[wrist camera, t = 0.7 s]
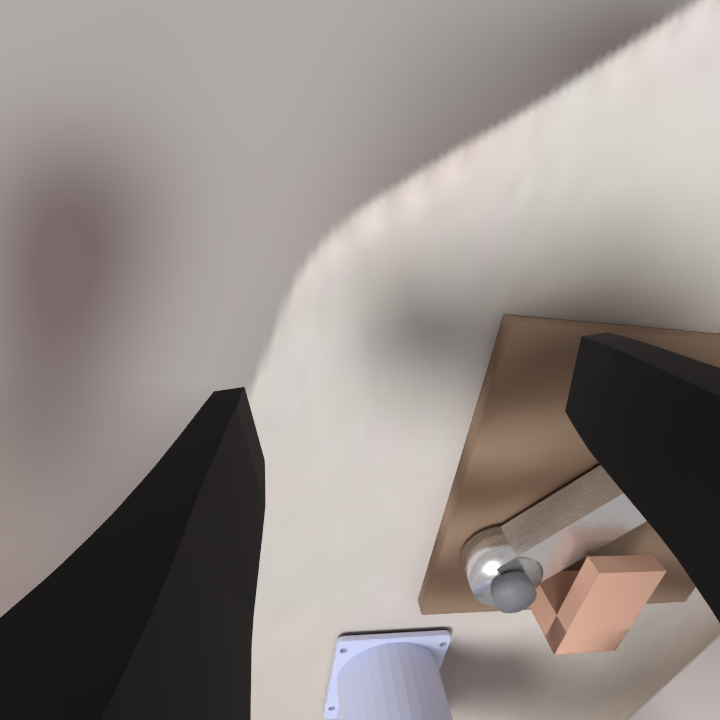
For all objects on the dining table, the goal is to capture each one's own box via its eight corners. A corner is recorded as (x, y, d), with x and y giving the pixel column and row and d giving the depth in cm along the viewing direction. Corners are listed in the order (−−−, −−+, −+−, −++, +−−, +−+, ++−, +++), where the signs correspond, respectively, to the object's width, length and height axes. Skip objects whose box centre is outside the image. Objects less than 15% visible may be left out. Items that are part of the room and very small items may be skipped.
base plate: (674, 588, 32) (685, 601, 31) (417, 600, 28) (421, 614, 27) (839, 344, 24) (860, 352, 23) (503, 314, 20) (513, 322, 19)
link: (480, 583, 26) (493, 615, 25) (447, 552, 25) (459, 584, 23) (741, 428, 24) (778, 451, 22) (725, 380, 22) (763, 401, 20)
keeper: (456, 596, 27) (479, 660, 24) (484, 516, 24) (515, 576, 21) (577, 590, 29) (615, 650, 25) (617, 515, 26) (666, 570, 22)
